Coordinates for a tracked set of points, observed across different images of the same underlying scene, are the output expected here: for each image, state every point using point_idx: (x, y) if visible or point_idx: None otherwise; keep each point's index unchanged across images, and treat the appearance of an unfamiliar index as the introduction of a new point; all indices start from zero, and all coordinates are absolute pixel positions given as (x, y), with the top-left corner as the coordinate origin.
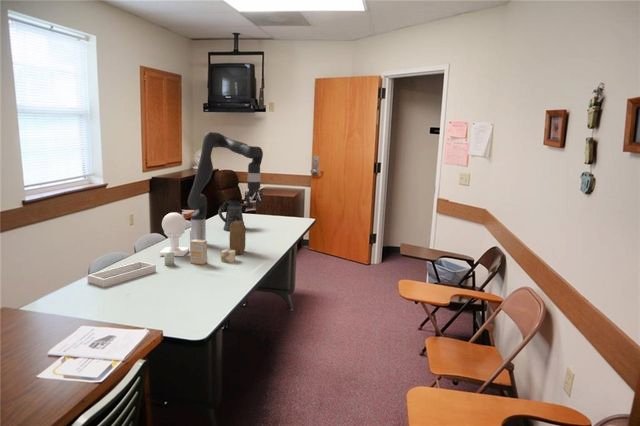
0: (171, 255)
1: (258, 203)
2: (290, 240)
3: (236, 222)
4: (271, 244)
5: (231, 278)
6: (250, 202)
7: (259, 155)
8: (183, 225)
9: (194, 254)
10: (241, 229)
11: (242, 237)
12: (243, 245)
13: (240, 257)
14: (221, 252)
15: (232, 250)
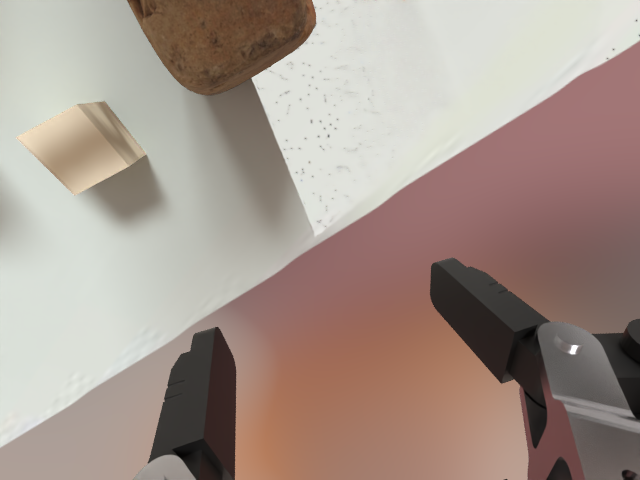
0: None
1: (468, 332)
2: (594, 52)
3: (187, 9)
4: (486, 39)
5: (12, 343)
6: (223, 476)
7: None
8: None
9: None
10: (233, 80)
11: (248, 76)
12: (261, 71)
13: (195, 134)
14: (22, 139)
15: (108, 161)
